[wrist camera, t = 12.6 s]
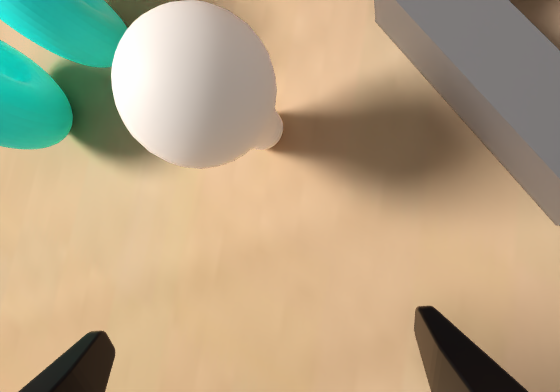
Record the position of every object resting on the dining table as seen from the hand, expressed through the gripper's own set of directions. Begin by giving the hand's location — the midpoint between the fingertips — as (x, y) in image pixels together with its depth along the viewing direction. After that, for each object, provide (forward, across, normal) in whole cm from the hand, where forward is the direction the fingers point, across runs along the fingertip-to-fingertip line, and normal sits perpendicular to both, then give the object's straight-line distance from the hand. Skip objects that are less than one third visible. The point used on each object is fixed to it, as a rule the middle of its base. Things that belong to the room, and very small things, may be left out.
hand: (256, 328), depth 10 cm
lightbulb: (+14, 0, -1) cm, 14 cm away
